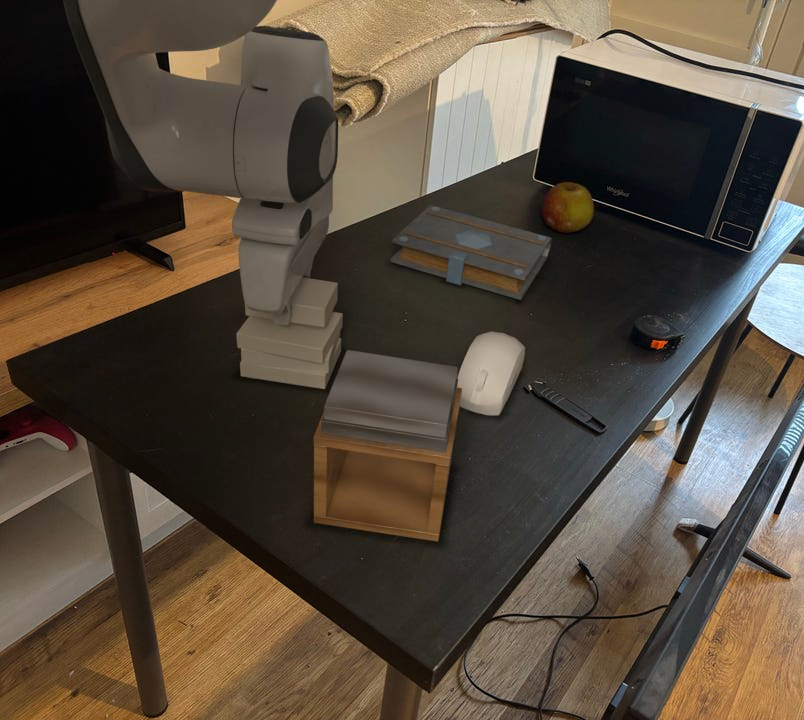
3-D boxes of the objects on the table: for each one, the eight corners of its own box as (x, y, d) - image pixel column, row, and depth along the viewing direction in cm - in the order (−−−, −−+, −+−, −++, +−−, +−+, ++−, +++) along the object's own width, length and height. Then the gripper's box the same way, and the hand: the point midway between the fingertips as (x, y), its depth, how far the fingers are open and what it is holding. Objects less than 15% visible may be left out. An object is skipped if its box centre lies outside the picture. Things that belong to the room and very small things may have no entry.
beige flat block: (324, 327, 83) (324, 309, 81) (245, 315, 83) (243, 296, 81) (337, 300, 88) (337, 282, 86) (262, 289, 87) (261, 270, 86)
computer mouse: (447, 406, 87) (453, 363, 83) (479, 349, 97) (485, 309, 94) (499, 422, 86) (507, 379, 82) (526, 362, 96) (534, 322, 93)
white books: (326, 392, 86) (326, 350, 83) (237, 378, 86) (233, 335, 82) (344, 349, 93) (345, 309, 90) (261, 336, 93) (259, 295, 90)
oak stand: (438, 541, 70) (454, 431, 62) (313, 522, 70) (313, 410, 62) (450, 469, 78) (465, 363, 70) (338, 452, 78) (341, 344, 70)
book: (548, 258, 121) (553, 230, 118) (519, 303, 108) (525, 274, 105) (430, 225, 125) (433, 198, 122) (389, 265, 112) (391, 235, 109)
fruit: (538, 213, 135) (546, 172, 131) (587, 220, 136) (596, 179, 131) (538, 236, 128) (547, 193, 123) (590, 244, 128) (600, 201, 123)
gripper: (289, 153, 85) (291, 258, 93) (224, 228, 69) (233, 349, 77) (343, 161, 85) (340, 266, 93) (291, 238, 69) (294, 358, 77)
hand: (292, 304), depth 85 cm, fingers closed on beige flat block, 6 cm apart
